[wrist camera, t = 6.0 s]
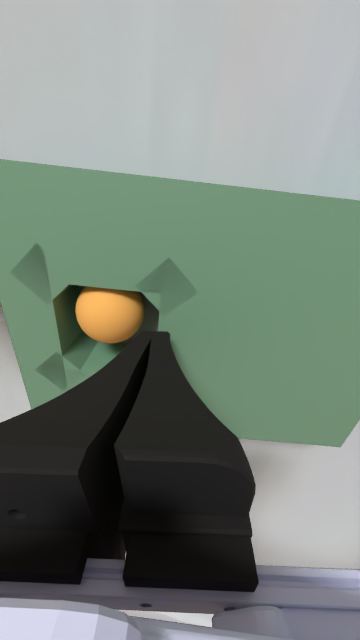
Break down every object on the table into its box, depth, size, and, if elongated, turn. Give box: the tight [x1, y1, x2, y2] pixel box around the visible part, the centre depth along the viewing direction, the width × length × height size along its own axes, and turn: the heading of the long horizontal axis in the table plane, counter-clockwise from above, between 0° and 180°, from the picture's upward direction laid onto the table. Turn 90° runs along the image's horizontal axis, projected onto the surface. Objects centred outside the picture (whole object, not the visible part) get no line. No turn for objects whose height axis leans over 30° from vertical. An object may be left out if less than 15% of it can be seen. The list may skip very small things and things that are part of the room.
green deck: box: [0, 159, 360, 447], centre depth 13 cm, size 20×14×3 cm
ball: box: [76, 286, 144, 343], centre depth 12 cm, size 4×4×4 cm
